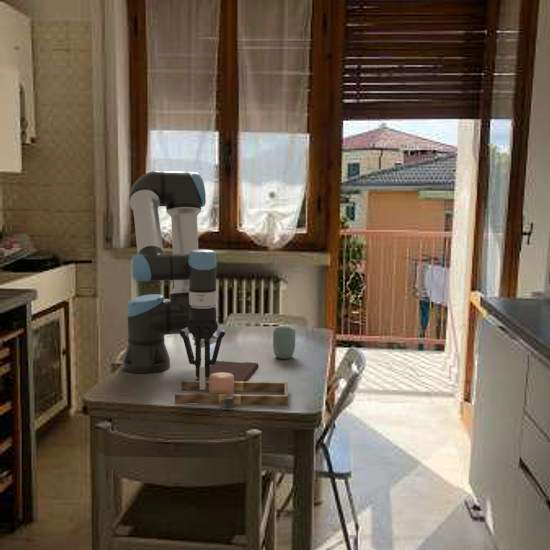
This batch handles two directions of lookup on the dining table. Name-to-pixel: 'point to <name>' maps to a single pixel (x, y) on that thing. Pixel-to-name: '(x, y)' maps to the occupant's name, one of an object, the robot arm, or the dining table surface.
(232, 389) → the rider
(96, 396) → the dining table surface
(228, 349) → the dining table surface
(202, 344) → the cloth
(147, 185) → the robot arm
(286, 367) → the dining table surface
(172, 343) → the dining table surface
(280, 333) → the cup
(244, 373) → the notebook
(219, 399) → the track
